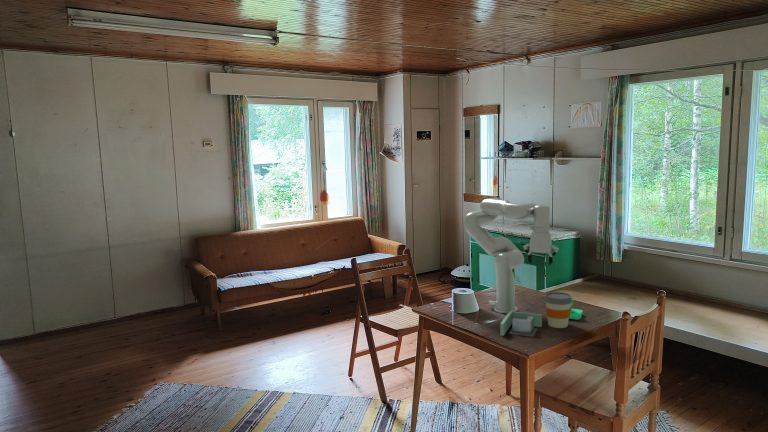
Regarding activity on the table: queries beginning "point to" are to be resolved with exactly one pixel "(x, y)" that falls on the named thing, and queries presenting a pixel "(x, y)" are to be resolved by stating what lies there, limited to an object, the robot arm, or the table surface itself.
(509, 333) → the mat
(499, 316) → the table surface
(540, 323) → the corner walls
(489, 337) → the table surface
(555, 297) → the reusable coffee cup
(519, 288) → the table surface
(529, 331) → the bracket
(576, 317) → the camera mount
